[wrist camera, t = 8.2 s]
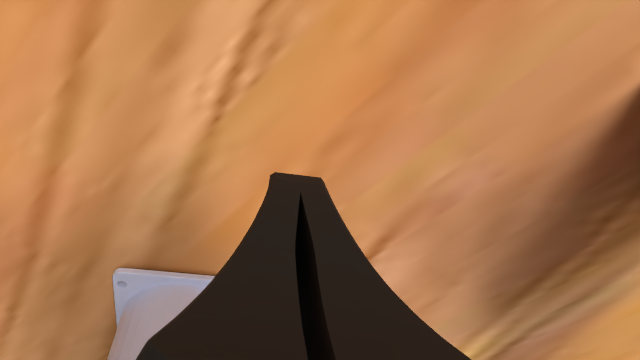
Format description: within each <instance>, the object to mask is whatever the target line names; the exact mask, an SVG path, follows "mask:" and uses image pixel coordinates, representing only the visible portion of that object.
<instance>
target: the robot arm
mask: <svg viewBox="0 0 640 360" xmlns="http://www.w3.org/2000/svg"><path fill="white" fill-rule="evenodd" d="M112 278H113V289H114V300H115V312H116V323H117V331H116V334H115V337H114V340H113V343H112V346H111V349H110V352H109V355H108V358H107V360H471V359H470V358H468V357H467V356H466V355H464V354H463V353H462V352H461V351H459V350H458V349H457V348H455V347H454V346H453V345H451V344H450V343H449V342H447V341H446V340H445V339H443V338H442V337H441V336H440V335H438V334H437V333H436V332H435V331H434V330H433V329H432V328H430V327H429V326H428V325H427V324H426V323H425V322H424V321H422V320H421V319H420V318H419V317H418V316H417V315H416V314H415V313H414V312H413V311H412V310H411V309H410V308H409V307H408V306H407V305H406V304H405V303H404V302H403V301H402V300H401V299H400V298H399V297H398V296H397V295H396V294H395V293H394V292H393V291H392V290H391V288H390V287H389V286H388V285H387V284H386V283H385V281H384V280H383V279H382V278H381V277H380V275H379V274H378V273H377V272H376V270H375V269H374V268H373V266H372V265H371V264H370V262H369V261H368V260H367V258H366V257H365V255H364V254H363V252H362V251H361V249H360V248H359V246H358V245H357V243H356V242H355V240H354V239H353V237H352V235H351V234H350V232H349V230H348V229H347V227H346V225H345V223H344V222H343V220H342V218H341V216H340V215H339V213H338V211H337V209H336V207H335V205H334V203H333V201H332V199H331V197H330V195H329V193H328V190H327V188H326V186H325V183H324V181H323V180H322V179H321V178H319V177H310V176H302V175H294V174H285V173H277V172H275V173H273V174H272V175H270V180H269V187H268V190H267V193H266V196H265V198H264V201H263V203H262V205H261V207H260V209H259V211H258V213H257V215H256V218H255V220H254V221H253V223H252V225H251V227H250V228H249V230H248V232H247V233H246V235H245V236H244V238H243V240H242V241H241V243H240V244H239V246H238V247H237V249H236V250H235V252H234V253H233V255H232V256H231V257H230V259H229V260H228V261H227V263H226V264H225V265H224V266H223V268H222V269H221V270H220V271H219V273H218V274H217V275H216V276H209V275H198V274H187V273H175V272H164V271H153V270H142V269H130V268H118V269H116V270H115V271H114V273H113V277H112ZM121 281H122V282H121Z"/></svg>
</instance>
